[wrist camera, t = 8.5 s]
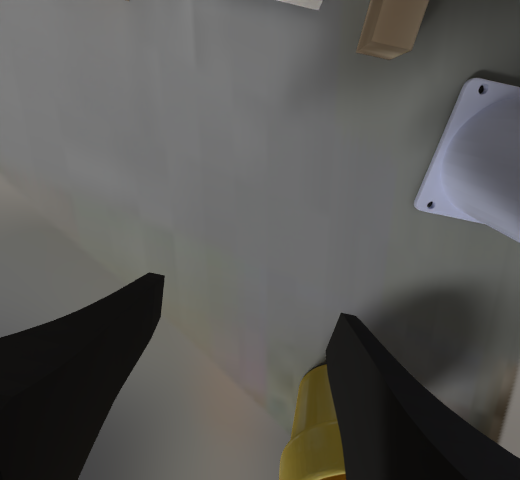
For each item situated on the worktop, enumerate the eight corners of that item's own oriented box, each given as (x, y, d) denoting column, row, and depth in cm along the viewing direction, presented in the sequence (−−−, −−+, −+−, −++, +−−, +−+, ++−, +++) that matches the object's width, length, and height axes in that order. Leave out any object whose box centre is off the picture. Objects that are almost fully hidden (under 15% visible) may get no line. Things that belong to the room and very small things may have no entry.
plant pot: (257, 399, 29) (249, 531, 20) (319, 327, 25) (344, 448, 16) (344, 439, 30) (374, 576, 21) (415, 377, 27) (486, 512, 18)
